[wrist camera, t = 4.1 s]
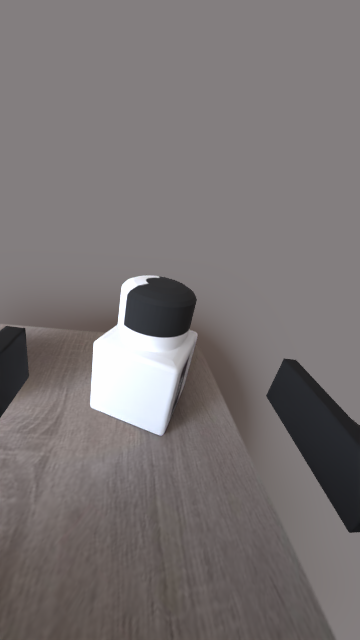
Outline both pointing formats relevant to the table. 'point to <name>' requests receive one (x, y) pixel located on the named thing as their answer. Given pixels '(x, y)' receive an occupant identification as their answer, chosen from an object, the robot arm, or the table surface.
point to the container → (145, 353)
